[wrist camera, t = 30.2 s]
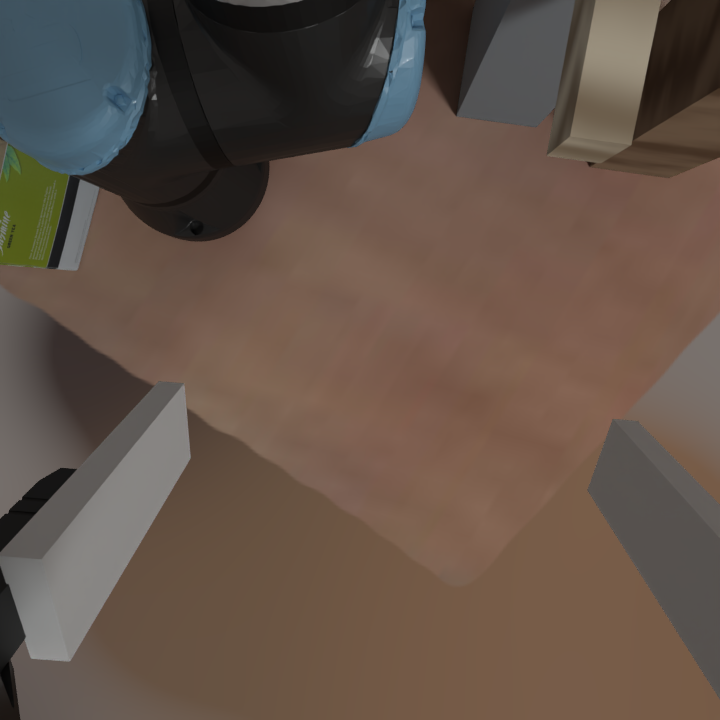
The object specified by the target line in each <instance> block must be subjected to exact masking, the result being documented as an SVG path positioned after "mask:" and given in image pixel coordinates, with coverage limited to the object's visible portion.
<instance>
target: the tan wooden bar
mask: <svg viewBox="0 0 720 720" xmlns="http://www.w3.org/2000/svg"><path fill="white" fill-rule="evenodd" d="M660 3H661V0H575V3H574V9H573V14H572V20H571V25H570V31H569V36H568V42H567V47H566V52H565V58H564V63H563V69H562V74H561V80H560V85H559V91H558V96H557V101H556V107H555V112H554V118H553V123H552V129H551V134H550V140H549V145H548V150H547V156H552V157H559V158H566V159H573V160H580V161H587V162H594V163H602V162H604V161H606V160H607V159H609V158H611V157H612V156H614V155H616V154H617V153H619V152H621V151H622V150H624V149H626V148H627V147H629V146H631V144H632V140H633V135H634V130H635V125H636V120H637V115H638V110H639V105H640V101H641V96H642V91H643V86H644V81H645V76H646V71H647V66H648V62H649V57H650V52H651V47H652V42H653V37H654V32H655V27H656V23H657V18H658V13H659V8H660Z"/></svg>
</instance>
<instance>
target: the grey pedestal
mask: <svg viewBox="0 0 720 720" xmlns="http://www.w3.org/2000/svg"><path fill="white" fill-rule="evenodd" d="M574 3H575V0H476V2H475V4H474V7H473V13H472V19H471V26H470V32H469V38H468V45H467V51H466V58H465V64H464V70H463V77H462V83H461V89H460V96H459V102H458V109H457V115H456V116H459V117H466V118H473V119H480V120H487V121H494V122H501V123H509V124H516V125H523V126H530V127H537V126H538V125H539V124H540V123H541V122H542V121H543V120H544V119H545V118H546V116H547V115H548V114H549V113H550V112H551V111H552V110H553V109H554V108H555V107H556V101H557V96H558V91H559V85H560V80H561V74H562V69H563V63H564V58H565V52H566V47H567V42H568V36H569V31H570V25H571V20H572V14H573V9H574Z"/></svg>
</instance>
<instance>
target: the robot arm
mask: <svg viewBox="0 0 720 720" xmlns="http://www.w3.org/2000/svg"><path fill="white" fill-rule="evenodd" d="M425 6H426V0H0V137H1V138H2V139H3V140H5V141H6V142H7V143H9V144H10V145H11V146H13V147H14V148H16V149H18V150H19V151H21V152H23V153H25V154H27V155H29V156H30V157H32V158H34V159H36V160H37V161H38V162H39V163H40V164H41V165H43V166H44V167H46V168H48V169H50V170H52V171H55V172H59V173H61V174H64V173H66V174H68V175H71V176H73V177H76V178H78V179H81V180H83V181H85V182H88V183H90V184H93V185H95V186H97V187H100V188H102V189H105V190H107V191H109V192H112V193H114V194H117V195H119V196H121V197H122V199H123V200H124V202H125V203H126V205H127V206H128V207H129V208H130V210H131V211H132V212H133V213H134V214H135V215H136V216H137V217H138V218H139V219H140V220H142V221H143V222H144V223H146V224H147V225H148V226H150V227H152V228H153V229H155V230H157V231H159V232H161V233H163V234H166V235H169V236H172V237H175V238H178V239H182V240H187V241H210V240H214V239H218V238H221V237H224V236H226V235H228V234H230V233H232V232H234V231H236V230H237V229H238V228H240V227H241V226H242V225H244V224H245V223H246V222H247V221H248V220H249V219H250V218H251V216H252V215H253V214H254V213H255V211H256V210H257V208H258V207H259V205H260V203H261V201H262V199H263V196H264V194H265V191H266V188H267V183H268V178H269V161H271V160H277V159H283V158H288V157H294V156H300V155H306V154H312V153H317V152H323V151H329V150H335V149H341V148H346V147H347V148H351V147H357V146H359V145H361V144H362V143H363V142H367V141H370V140H374V139H378V138H382V137H385V136H389V135H392V134H394V133H396V132H398V131H399V130H400V129H401V128H402V127H403V126H404V125H405V124H406V123H407V121H408V120H409V118H410V116H411V114H412V112H413V110H414V107H415V105H416V101H417V98H418V94H419V89H420V84H421V78H422V71H423V63H424V54H425V39H426V30H425V26H424V22H423V17H424V12H425ZM190 458H191V457H190V445H189V434H188V423H187V410H186V398H185V387H184V383H173V382H161V381H159V382H158V383H157V384H156V385H155V386H154V387H153V388H152V389H151V391H150V392H149V393H148V394H147V395H146V396H145V397H144V398H143V399H142V400H141V401H140V402H139V403H138V404H137V406H136V407H135V408H134V409H133V410H132V411H131V412H130V413H129V414H128V415H127V417H125V418H124V419H123V421H122V422H121V423H120V424H119V425H118V426H117V427H116V428H115V429H114V430H113V431H112V432H111V433H110V435H109V436H108V437H107V438H106V439H105V440H104V441H103V442H102V443H101V444H100V445H99V446H98V448H97V449H96V450H95V451H94V452H93V453H92V454H91V455H90V456H89V457H88V459H86V460H85V462H84V463H83V464H82V465H81V466H80V467H79V468H78V469H68V468H60V469H58V470H57V471H55V472H53V473H51V474H50V475H48V476H46V477H45V478H43V479H41V480H40V481H38V482H37V483H36V484H35V485H34V486H33V487H32V488H31V489H30V490H29V491H28V492H27V493H26V494H25V495H24V496H23V497H22V500H19V501H18V502H17V503H16V504H15V505H14V506H13V507H12V508H11V509H10V510H9V513H8V514H5V515H4V516H3V517H2V518H1V519H0V720H20V714H19V706H18V699H17V691H16V684H15V676H14V668H13V666H12V663H11V660H10V659H11V657H12V656H13V654H14V653H15V652H16V650H17V649H18V648H19V646H20V645H21V643H22V642H23V641H24V639H25V642H26V645H27V648H28V651H29V654H30V657H31V658H32V659H45V660H58V661H70V660H71V659H72V657H73V655H74V654H75V652H76V650H77V648H78V647H79V645H80V644H81V642H82V640H83V639H84V637H85V635H86V633H87V632H88V630H89V628H90V627H91V625H92V623H93V622H94V620H95V618H96V617H97V615H98V613H99V612H100V610H101V608H102V607H103V605H104V603H105V601H106V600H107V598H108V596H109V595H110V593H111V591H112V590H113V588H114V586H115V585H116V583H117V581H118V579H119V578H120V576H121V574H122V573H123V571H124V569H125V568H126V566H127V564H128V563H129V561H130V559H131V558H132V556H133V554H134V553H135V551H136V549H137V547H138V546H139V544H140V542H141V541H142V539H143V537H144V536H145V534H146V532H147V531H148V529H149V527H150V526H151V524H152V522H153V521H154V519H155V517H156V515H157V514H158V512H159V510H160V509H161V507H162V505H163V503H164V502H165V500H166V499H167V497H168V495H169V493H170V492H171V490H172V489H173V487H174V485H175V483H176V482H177V480H178V478H179V477H180V475H181V473H182V471H183V470H184V468H185V467H186V465H187V463H188V461H189V460H190ZM588 492H589V494H590V495H591V497H592V498H593V500H594V501H595V503H596V505H597V506H598V508H599V509H600V511H601V513H602V514H603V516H604V517H605V519H606V520H607V522H608V523H609V525H610V527H611V528H612V530H613V531H614V533H615V535H616V536H617V538H618V539H619V541H620V543H621V544H622V546H623V547H624V549H625V550H626V552H627V553H628V555H629V557H630V558H631V560H632V561H633V563H634V565H635V566H636V568H637V569H638V571H639V573H640V574H641V576H642V577H643V579H644V580H645V582H646V584H647V585H648V587H649V588H650V590H651V591H652V593H653V595H654V596H655V598H656V599H657V601H658V602H659V604H660V606H661V607H662V609H663V610H664V612H665V614H666V615H667V617H668V618H669V620H670V621H671V623H672V624H673V626H674V628H675V629H676V631H677V632H678V634H679V636H680V637H681V639H682V640H683V642H684V643H685V645H686V646H687V648H688V650H689V651H690V653H691V654H692V656H693V658H694V659H695V661H696V662H697V664H698V666H699V667H700V669H701V670H702V672H703V674H704V675H705V677H706V678H707V680H708V681H709V683H710V685H711V686H712V687H713V689H714V691H715V692H716V694H717V696H718V697H719V699H720V504H719V503H718V502H717V501H716V500H715V499H714V498H713V497H712V496H711V495H710V494H709V493H708V492H707V491H706V490H705V489H704V488H703V487H702V486H701V485H700V484H699V483H698V482H697V481H696V480H695V479H694V478H693V477H692V476H691V475H690V474H689V473H688V472H687V471H686V470H685V469H684V468H683V467H682V466H681V465H680V464H679V463H678V462H677V461H676V460H675V459H674V458H673V457H672V456H671V455H670V454H669V453H668V452H667V451H666V450H665V448H663V446H662V445H661V444H659V442H658V441H657V440H656V439H655V438H654V437H653V436H652V435H651V434H650V433H649V432H648V431H647V430H646V429H645V428H644V427H643V426H642V425H641V424H640V423H639V422H638V421H629V420H618V419H613V420H612V423H611V426H610V429H609V431H608V434H607V437H606V440H605V442H604V445H603V448H602V451H601V454H600V456H599V460H598V462H597V465H596V468H595V470H594V473H593V476H592V479H591V482H590V484H589V487H588Z"/></svg>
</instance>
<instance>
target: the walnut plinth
mask: <svg viewBox="0 0 720 720" xmlns="http://www.w3.org/2000/svg"><path fill="white" fill-rule="evenodd" d="M719 157H720V0H671V1H670V2H669V3H668V4H667V5H666V6H665V7H664V8H663V9H662V10H661V11H660V12H659V13H658V18H657V23H656V27H655V32H654V37H653V42H652V47H651V52H650V57H649V62H648V66H647V71H646V76H645V81H644V86H643V91H642V96H641V101H640V105H639V110H638V115H637V120H636V125H635V130H634V135H633V140H632V144H631V146H629V147H627V148H626V149H624V150H622V151H621V152H619V153H617V154H616V155H614V156H612V157H611V158H609V159H607V160H606V161H604V162H602V163H594V162H591V164H590V167H594V168H601V169H608V170H615V171H622V172H629V173H636V174H644V175H651V176H658V177H665V178H670V177H673V176H675V175H678V174H680V173H683V172H685V171H687V170H690V169H692V168H695V167H697V166H700V165H702V164H704V163H707V162H709V161H712V160H714V159H716V158H719Z"/></svg>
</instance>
